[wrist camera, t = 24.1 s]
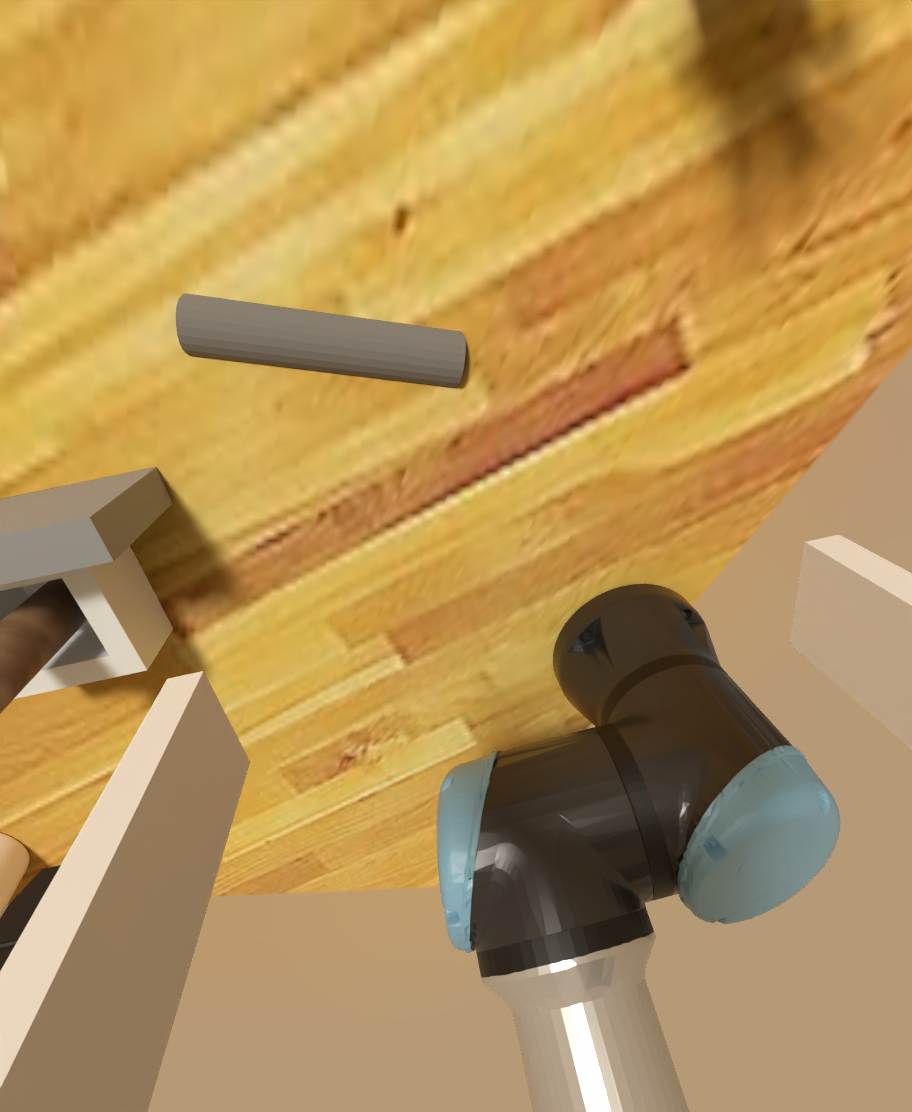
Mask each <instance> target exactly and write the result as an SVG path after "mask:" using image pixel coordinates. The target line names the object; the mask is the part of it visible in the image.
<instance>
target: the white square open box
mask: <svg viewBox="0 0 912 1112" xmlns="http://www.w3.org/2000/svg"><path fill="white" fill-rule="evenodd" d="M60 578H62V579H63V581H64V582H65V584H66V586H67V587H68V589H69V591H70V592H71V594H72V595H73V597H74V599H75V600H76V602H77V604H78V605H79V607H80V609H81V610H82V612H83V613H84V615H85V617H86V618H87V621H86V622H85V623H84V624H83V625H82V626H81V627H80V628H79V629H78V631H77V632H76V633H75V634H74V635H73V636H72V637H71V638H70V639H69V640H68V641H67V642H66V643H65V644H64V646H63V647H62V648H61V649H60V650H59V651H58V652H57V653H56V654H55V655H54V656H53V657H52V658H51V659H50V661H49V662H48V663H47V664H46V665H45V666H44V667H43V668H42V669H41V670H40V671H39V672H38V673H37V674H36V676H35V677H34V678H33V679H32V680H31V681H30V682H29V683H28V684H27V685H26V686H25V687H24V688H23V689H22V691H21V692H20V693H19V694H18V695H17V696H16V697H15V698H14V699H16V698H21V697H25V696H30V695H35V694H39V693H44V692H49V691H53V690H58V689H63V688H67V687H72V686H77V685H81V684H86V683H91V682H95V681H100V680H105V679H109V678H114V677H119V676H123V675H128V674H133V673H137V672H142V671H147V670H148V668H149V667H150V665H151V664H152V662H153V660H154V659H155V657H156V656H157V654H158V652H159V651H160V649H161V648H162V646H163V645H164V643H165V641H166V640H167V638H168V637H169V635H170V634H171V632H172V630H173V627H172V625H171V623H170V621H169V619H168V617H167V616H166V614H165V612H164V610H163V608H162V606H161V604H160V602H159V600H158V598H157V596H156V594H155V593H154V591H153V589H152V587H151V585H150V583H149V581H148V579H147V577H146V575H145V573H144V572H143V570H142V568H141V566H140V564H139V562H138V560H137V558H136V556H135V554H134V552H133V550H132V549H131V547H130V546H129V547H128V548H127V549H126V550H125V551H124V552H123V553H122V554H121V555H120V556H119V557H118V558H117V559H116V560H115V561H113V562H109V563H104V564H99V565H94V566H89V567H85V568H80V569H75V570H70V571H65V572H61V573H56V574H51V575H46V576H41V577H37V578H32V579H27V580H22V581H17V582H13V583H8V584H3V585H0V621H1V620H2V619H4V618H5V617H6V616H7V615H8V614H10V613H11V612H12V611H13V610H14V609H16V608H17V607H18V606H19V605H20V604H22V603H23V602H24V601H25V600H26V599H28V598H29V597H30V596H31V595H32V594H34V593H35V592H36V591H37V590H38V589H39V588H41V587H42V586H43V585H44V584H45V583H47V582H48V581H51V580H55V579H60Z"/></svg>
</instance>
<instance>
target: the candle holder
mask: <svg viewBox="0 0 912 1112" xmlns="http://www.w3.org/2000/svg"><path fill="white" fill-rule="evenodd" d="M29 861H30V857H29V853H28V851H27V849H26V848H25V847H24V846H23V845H22V844H21V843H20V842H19V841H17V840H16V839H14V838H12V837H10V836H8V835H6V834H3V833H0V917H1V916H2V914H3V912H4V910H5V908H6V907H7V905H8V903H9V901H10V899H11V898H12V896H13V894H14V892H15V890H16V888H17V887H18V885H19V883H20V881H21V879H22V877H23V876H24V874H25V872H26V870H27V868H28V865H29Z"/></svg>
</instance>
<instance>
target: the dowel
mask: <svg viewBox="0 0 912 1112" xmlns="http://www.w3.org/2000/svg"><path fill="white" fill-rule="evenodd" d="M86 621H87V618H86V617H85V615H84V613H83V612H82V610H81V609H80V607H79V605H78V604H77V602H76V600H75V599H74V597H73V595H72V594H71V592H70V591H69V589H68V587H67V586H66V584H65V582H64V581H63V579H62V578H60V579H55V580H51V581H48V582H47V583H45V584H44V585H43V586H42V587H41V588H39V589H38V590H37V591H36V592H35V593H34V594H32V595H31V596H30V597H29V598H28V599H26V600H25V601H24V602H23V603H22V604H20V605H19V606H18V607H17V608H16V609H14V610H13V611H12V612H11V613H10V614H8V615H7V616H6V617H5V618H4V619H2V620H1V621H0V713H1V712H2V711H3V710H4V709H5V708H6V707H7V706H8V704H9V703H10V702H11V701H12V700H13V699H14V698H15V697H16V696H17V695H18V694H19V693H20V692H21V691H22V689H23V688H24V687H25V686H26V685H27V684H28V683H29V682H30V681H31V680H32V679H33V678H34V677H35V676H36V674H37V673H38V672H39V671H40V670H41V669H42V668H43V667H44V666H45V665H46V664H47V663H48V662H49V661H50V659H51V658H52V657H53V656H54V655H55V654H56V653H57V652H58V651H59V650H60V649H61V648H62V647H63V646H64V644H65V643H66V642H67V641H68V640H69V639H70V638H71V637H72V636H73V635H74V634H75V633H76V632H77V631H78V629H79V628H80V627H81V626H82V625H83V624H84V623H85V622H86Z"/></svg>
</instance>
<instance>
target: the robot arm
mask: <svg viewBox="0 0 912 1112" xmlns="http://www.w3.org/2000/svg"><path fill="white" fill-rule="evenodd" d="M790 644H791V645H792V646H793V647H794V648H796V649H797V650H798V651H799V652H800V653H801V654H802V655H804V656H805V657H806V658H807V659H808V660H809V661H810V662H812V663H813V664H814V665H815V666H816V667H817V668H819V669H820V670H821V671H822V672H823V673H824V674H826V675H827V676H828V677H829V678H830V679H831V680H832V681H833V682H835V683H836V684H837V685H838V686H839V687H840V688H842V689H843V690H844V691H845V692H846V693H847V694H848V695H849V696H851V697H852V698H853V699H854V700H855V701H856V702H858V703H859V704H860V705H861V706H862V707H863V708H864V709H866V710H867V711H868V712H869V713H870V714H871V715H872V716H874V717H875V718H876V719H877V720H878V721H879V722H880V723H882V724H883V725H884V726H885V727H886V728H887V729H889V730H890V731H891V732H892V733H893V734H894V735H895V736H897V737H898V738H899V739H900V740H901V741H902V742H903V743H905V744H906V745H907V746H908V747H909V748H910V749H911V750H912V574H911V573H910V572H908V571H906V570H904V569H902V568H900V567H898V566H896V565H895V564H893V563H891V562H889V561H887V560H885V559H884V558H881V557H880V556H878V555H876V554H874V553H872V552H871V551H869V550H866V549H865V548H863V547H861V546H859V545H857V544H855V543H854V542H852V541H850V540H848V539H846V538H844V537H842V536H841V535H836V536H831V537H826V538H822V539H817V540H812V541H808V542H805V546H804V553H803V560H802V566H801V572H800V579H799V586H798V593H797V599H796V606H795V612H794V619H793V625H792V632H791V638H790ZM553 666H554V671H555V675H556V677H557V680H558V682H559V684H560V686H561V689H562V691H563V693H564V694H565V696H566V697H567V699H568V700H569V702H570V703H571V704H572V705H573V706H574V707H575V708H576V709H577V710H579V711H580V712H581V713H582V714H583V715H584V716H585V717H586V718H587V719H588V720H589V721H590V722H591V723H593V724H594V725H595V726H596V727H595V728H590V729H586V730H583V731H579V732H575V733H571V734H567V735H564V736H560V737H556V738H552V739H548V740H544V741H541V742H537V743H533V744H529V745H525V746H522V747H518V748H514V749H510V750H506V751H502V752H501V751H500V750H495V751H493V752H492V753H491V754H490V755H488V756H485V757H482V758H479V759H476V760H473V761H470V762H467V763H463V764H460V765H458V766H456V767H454V768H453V769H452V770H450V771H449V773H448V774H447V775H446V777H445V778H444V780H443V783H442V786H441V789H440V794H439V800H438V810H437V854H438V870H439V881H440V890H441V898H442V904H443V907H444V908H445V918H446V927H447V931H448V935H449V938H450V940H451V943H452V944H453V946H454V947H455V948H456V949H458V950H463V951H465V952H467V953H470V952H472V951H474V950H475V949H476V952H477V957H478V962H479V968H480V973H481V978H482V983H483V984H484V985H485V986H487V987H488V988H489V989H490V990H491V991H493V992H494V993H495V994H496V995H497V996H499V997H500V998H501V999H502V1000H503V1001H504V1002H506V1003H507V1005H508V1006H509V1008H510V1009H511V1011H512V1012H513V1017H514V1021H515V1026H516V1031H517V1036H518V1040H519V1045H520V1050H521V1055H522V1059H523V1064H524V1069H525V1074H526V1079H527V1084H528V1088H529V1093H530V1098H531V1103H532V1107H533V1112H689V1110H688V1107H687V1104H686V1101H685V1098H684V1095H683V1092H682V1089H681V1086H680V1083H679V1080H678V1077H677V1074H676V1071H675V1068H674V1065H673V1062H672V1059H671V1056H670V1053H669V1050H668V1047H667V1044H666V1041H665V1038H664V1035H663V1032H662V1029H661V1026H660V1023H659V1020H658V1017H657V1014H656V1011H655V1008H654V1005H653V1002H652V999H651V996H650V993H649V989H648V987H647V983H646V980H645V967H646V964H647V961H648V958H649V955H650V953H651V950H652V947H653V944H654V941H655V939H656V936H655V933H654V930H653V927H652V925H651V922H650V919H649V916H648V913H647V910H646V907H645V903H646V902H649V901H652V900H656V899H660V898H664V897H668V896H672V895H675V894H679V897H680V899H681V901H682V902H683V903H684V905H685V906H686V907H688V908H689V909H690V910H691V911H692V912H693V914H694V915H695V916H697V917H698V918H700V919H702V920H704V921H707V922H711V923H714V922H716V921H718V922H721V923H724V924H729V923H735V922H740V921H744V920H747V919H751V918H753V917H756V916H758V915H761V914H763V913H765V912H767V911H769V910H771V909H773V908H775V907H777V906H779V905H780V904H782V903H783V902H785V901H786V900H788V899H789V898H791V897H792V896H794V895H795V894H796V893H797V892H799V891H800V890H801V889H802V888H804V887H805V886H806V885H807V884H808V883H809V882H810V881H811V879H813V877H815V876H816V875H817V874H818V873H819V871H820V870H821V869H822V868H823V866H824V865H825V864H826V862H827V861H828V859H829V858H830V856H831V854H832V852H833V850H834V848H835V845H836V842H837V839H838V836H839V831H840V815H839V811H838V807H837V804H836V802H835V800H834V798H833V796H832V795H831V793H830V792H829V790H828V789H827V788H826V787H825V785H824V784H823V782H822V781H821V780H820V778H819V777H818V776H817V774H816V773H815V772H814V771H813V769H812V768H811V767H810V765H809V764H808V763H807V760H806V759H805V757H804V755H803V754H802V753H801V751H800V750H798V749H797V748H795V747H793V746H792V745H791V744H790V742H789V741H788V740H787V739H786V738H785V737H784V736H783V735H782V734H781V733H780V732H779V730H778V729H777V728H776V727H775V726H774V725H773V724H772V723H771V722H770V720H769V719H768V718H767V717H766V716H765V715H764V714H763V713H762V712H761V711H760V709H759V708H757V706H756V705H755V704H754V703H753V702H752V701H751V700H750V699H749V697H748V696H747V695H746V694H745V693H744V692H743V691H742V690H741V689H740V687H738V685H737V684H736V683H735V682H734V681H733V680H732V679H731V678H730V677H729V676H728V674H727V673H726V672H725V671H724V670H723V669H722V668H721V666H720V664H719V661H718V658H717V655H716V652H715V649H714V646H713V644H712V641H711V638H710V635H709V632H708V629H707V627H706V624H705V622H704V621H703V619H702V618H701V616H700V614H699V613H698V612H697V611H696V610H695V609H694V608H693V607H692V606H691V605H690V604H689V603H688V602H687V601H686V600H685V599H684V598H683V597H682V596H681V595H679V594H678V593H676V592H674V591H673V590H670V589H668V588H665V587H662V586H658V585H651V584H635V585H628V586H623V587H619V588H615V589H612V590H610V591H607V592H605V593H603V594H601V595H599V596H597V597H595V598H593V599H592V600H590V601H589V602H587V603H586V604H585V605H583V606H582V607H581V608H580V609H579V610H577V611H576V612H575V613H574V614H573V615H572V617H571V618H570V619H569V620H568V621H567V623H566V624H565V626H564V627H563V629H562V630H561V632H560V634H559V636H558V638H557V641H556V644H555V648H554V654H553ZM249 763H250V761H249V759H248V757H247V755H246V753H245V751H244V749H243V747H242V745H241V743H240V741H239V739H238V737H237V735H236V733H235V731H234V730H233V728H232V726H231V724H230V722H229V720H228V718H227V716H226V714H225V712H224V710H223V708H222V706H221V704H220V702H219V700H218V698H217V696H216V695H215V693H214V691H213V689H212V687H211V685H210V683H209V681H208V679H207V677H206V675H205V673H204V671H201V672H197V673H192V674H187V675H183V676H178V677H173V678H169V679H167V680H166V682H165V684H164V685H163V687H162V689H161V691H160V692H159V694H158V696H157V698H156V699H155V701H154V703H153V705H152V706H151V708H150V710H149V712H148V713H147V715H146V717H145V719H144V720H143V722H142V724H141V726H140V727H139V729H138V731H137V733H136V735H135V736H134V738H133V740H132V742H131V743H130V745H129V747H128V749H127V750H126V752H125V754H124V756H123V757H122V759H121V761H120V763H119V764H118V766H117V768H116V770H115V771H114V773H113V775H112V777H111V778H110V780H109V782H108V784H107V785H106V787H105V789H104V791H103V792H102V794H101V796H100V798H99V799H98V801H97V803H96V805H95V806H94V808H93V810H92V812H91V813H90V815H89V817H88V819H87V820H86V822H85V824H84V826H83V827H82V829H81V831H80V833H79V834H78V836H77V838H76V840H75V841H74V843H73V845H72V847H71V848H70V850H69V852H68V854H67V855H66V857H65V859H64V861H63V862H62V864H61V865H59V866H55V867H50V868H46V869H42V870H41V871H40V872H39V873H38V874H37V875H36V876H35V877H34V878H33V880H32V881H31V882H30V883H29V884H28V885H27V886H26V887H25V888H24V889H23V890H22V891H21V893H20V894H19V895H18V896H17V897H16V898H15V899H14V900H13V901H12V902H11V903H10V904H9V906H8V907H7V909H6V910H5V912H4V913H3V915H2V916H1V918H0V1112H147V1111H148V1107H149V1104H150V1101H151V1097H152V1094H153V1091H154V1087H155V1084H156V1080H157V1077H158V1073H159V1070H160V1066H161V1063H162V1060H163V1056H164V1053H165V1049H166V1046H167V1043H168V1039H169V1036H170V1033H171V1029H172V1026H173V1022H174V1019H175V1016H176V1012H177V1009H178V1005H179V1002H180V999H181V995H182V992H183V988H184V985H185V981H186V978H187V975H188V971H189V968H190V964H191V961H192V957H193V954H194V951H195V947H196V944H197V941H198V937H199V934H200V930H201V927H202V924H203V920H204V916H205V913H206V910H207V907H208V903H209V900H210V896H211V893H212V889H213V886H214V883H215V879H216V876H217V872H218V869H219V866H220V862H221V859H222V855H223V852H224V849H225V845H226V842H227V838H228V835H229V832H230V828H231V825H232V821H233V818H234V814H235V811H236V808H237V804H238V801H239V797H240V794H241V791H242V787H243V784H244V780H245V777H246V774H247V770H248V767H249Z"/></svg>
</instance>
